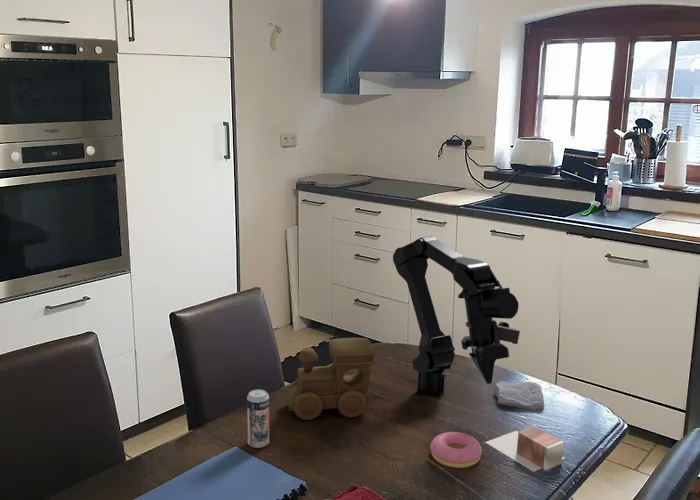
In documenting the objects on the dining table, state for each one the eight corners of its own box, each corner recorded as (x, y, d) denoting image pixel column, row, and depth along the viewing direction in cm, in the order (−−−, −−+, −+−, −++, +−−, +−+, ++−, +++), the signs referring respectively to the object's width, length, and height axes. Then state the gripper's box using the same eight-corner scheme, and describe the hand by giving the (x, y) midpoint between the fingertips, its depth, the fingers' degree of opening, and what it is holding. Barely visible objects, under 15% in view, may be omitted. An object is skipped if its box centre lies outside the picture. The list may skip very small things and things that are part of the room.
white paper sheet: (484, 443, 154) (485, 442, 154) (516, 431, 159) (516, 430, 159) (533, 472, 142) (533, 471, 142) (565, 459, 148) (565, 458, 148)
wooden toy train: (365, 397, 175) (367, 335, 171) (374, 418, 164) (376, 353, 160) (286, 401, 171) (286, 338, 168) (290, 423, 161) (290, 356, 157)
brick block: (518, 432, 148) (547, 448, 142) (534, 426, 151) (563, 442, 144) (516, 453, 149) (545, 470, 143) (532, 446, 152) (561, 463, 146)
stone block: (546, 418, 170) (539, 393, 179) (548, 402, 168) (541, 378, 177) (497, 417, 171) (493, 392, 180) (498, 401, 169) (494, 377, 178)
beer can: (251, 451, 148) (251, 399, 145) (244, 441, 152) (243, 390, 149) (272, 446, 150) (272, 395, 148) (264, 436, 154) (264, 386, 152)
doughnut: (491, 459, 147) (493, 441, 146) (458, 478, 140) (459, 459, 139) (452, 439, 155) (453, 422, 154) (419, 456, 148) (419, 438, 147)
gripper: (526, 316, 151) (536, 386, 151) (501, 307, 170) (509, 369, 170) (477, 324, 150) (487, 394, 151) (456, 314, 169) (465, 377, 169)
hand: (489, 383), depth 160 cm, fingers closed
